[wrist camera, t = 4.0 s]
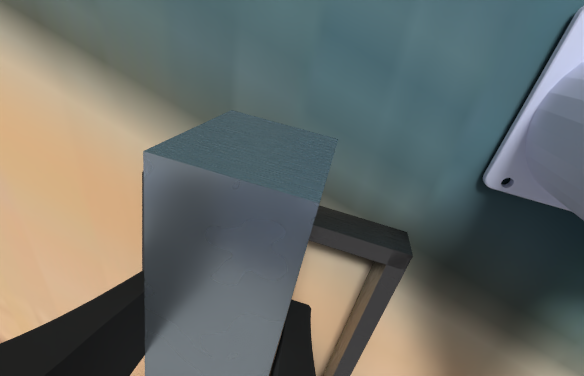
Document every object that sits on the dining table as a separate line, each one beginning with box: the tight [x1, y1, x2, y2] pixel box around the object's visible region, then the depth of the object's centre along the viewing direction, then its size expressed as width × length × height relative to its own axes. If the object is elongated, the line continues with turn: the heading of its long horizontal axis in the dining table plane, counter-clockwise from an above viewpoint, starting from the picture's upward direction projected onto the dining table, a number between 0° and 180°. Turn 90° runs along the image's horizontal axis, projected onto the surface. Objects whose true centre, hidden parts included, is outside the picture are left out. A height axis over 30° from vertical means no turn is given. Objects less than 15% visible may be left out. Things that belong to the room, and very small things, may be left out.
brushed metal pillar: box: [143, 110, 338, 376], centre depth 11 cm, size 4×10×5 cm, turn 168°
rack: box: [142, 171, 413, 376], centre depth 20 cm, size 15×16×3 cm
